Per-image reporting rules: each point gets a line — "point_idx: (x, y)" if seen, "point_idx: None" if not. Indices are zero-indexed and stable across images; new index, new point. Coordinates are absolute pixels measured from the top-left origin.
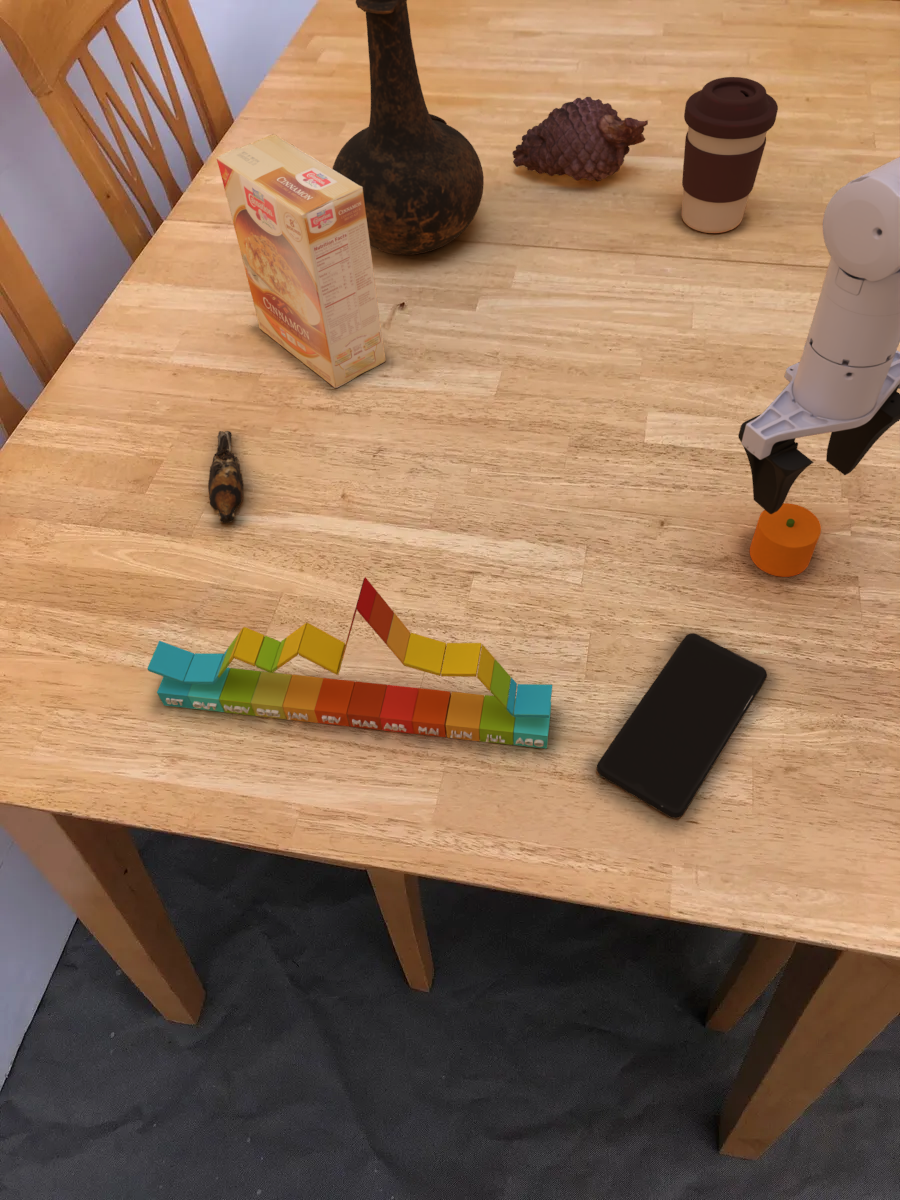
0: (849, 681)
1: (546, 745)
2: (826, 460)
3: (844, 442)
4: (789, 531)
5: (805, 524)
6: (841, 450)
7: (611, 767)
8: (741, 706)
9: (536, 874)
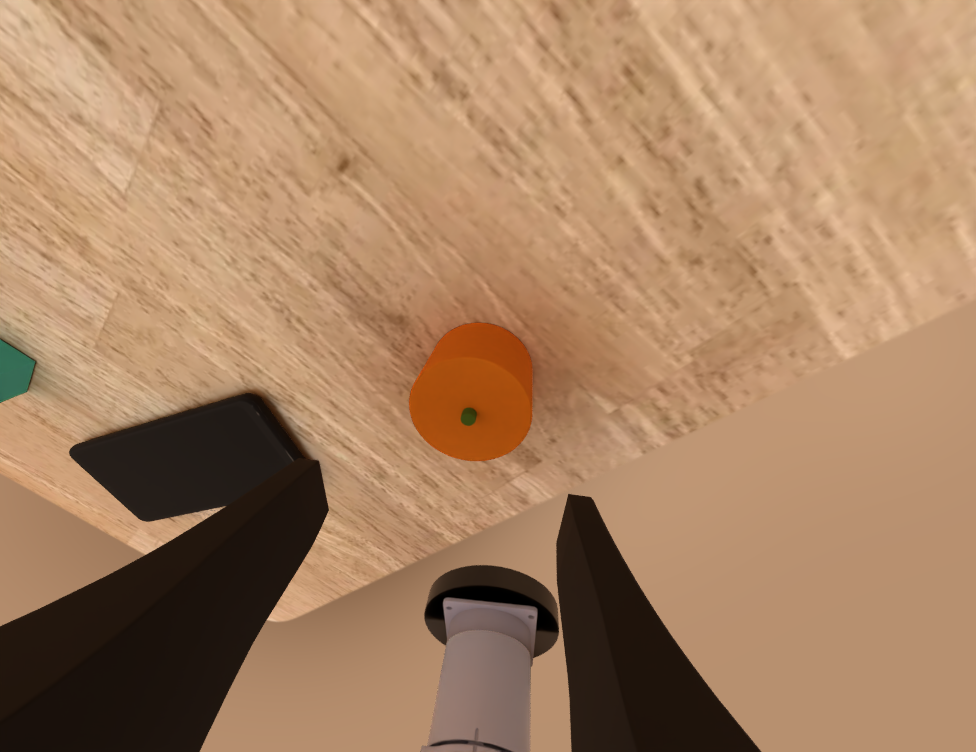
0: (403, 527)
1: (16, 395)
2: (569, 494)
3: (576, 613)
4: (455, 422)
5: (495, 429)
6: (570, 578)
7: (84, 460)
8: None
9: (8, 471)
